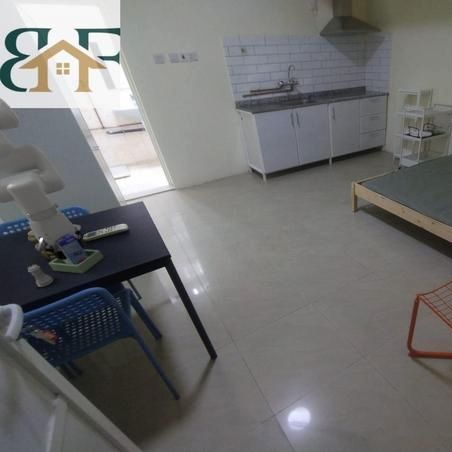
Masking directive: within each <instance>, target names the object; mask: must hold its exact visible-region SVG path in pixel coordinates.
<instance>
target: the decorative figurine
mask: <svg viewBox="0 0 452 452" xmlns="http://www.w3.org/2000/svg"><path fill="white" fill-rule="evenodd" d="M25 228H26V229H28V230H30V231H28V233H27V236H28V237H27V240H28V241H29V242H32V243H34V244H35V246H34V249H35V250H36V251H38V250H37V247H38V244H39V241H38V240H37V238H36V236H35V235H34V233H33V231H32V229H31V227H30V225H28V226H25ZM45 248H48V244H47V245H45ZM38 252H39V253H40V255H41V256H42V257H44V258H45V259H49V260H50V261H53V260H55V259H56V257H55V255H54V254H53V253H52V252H45V251H38Z"/></svg>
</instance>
